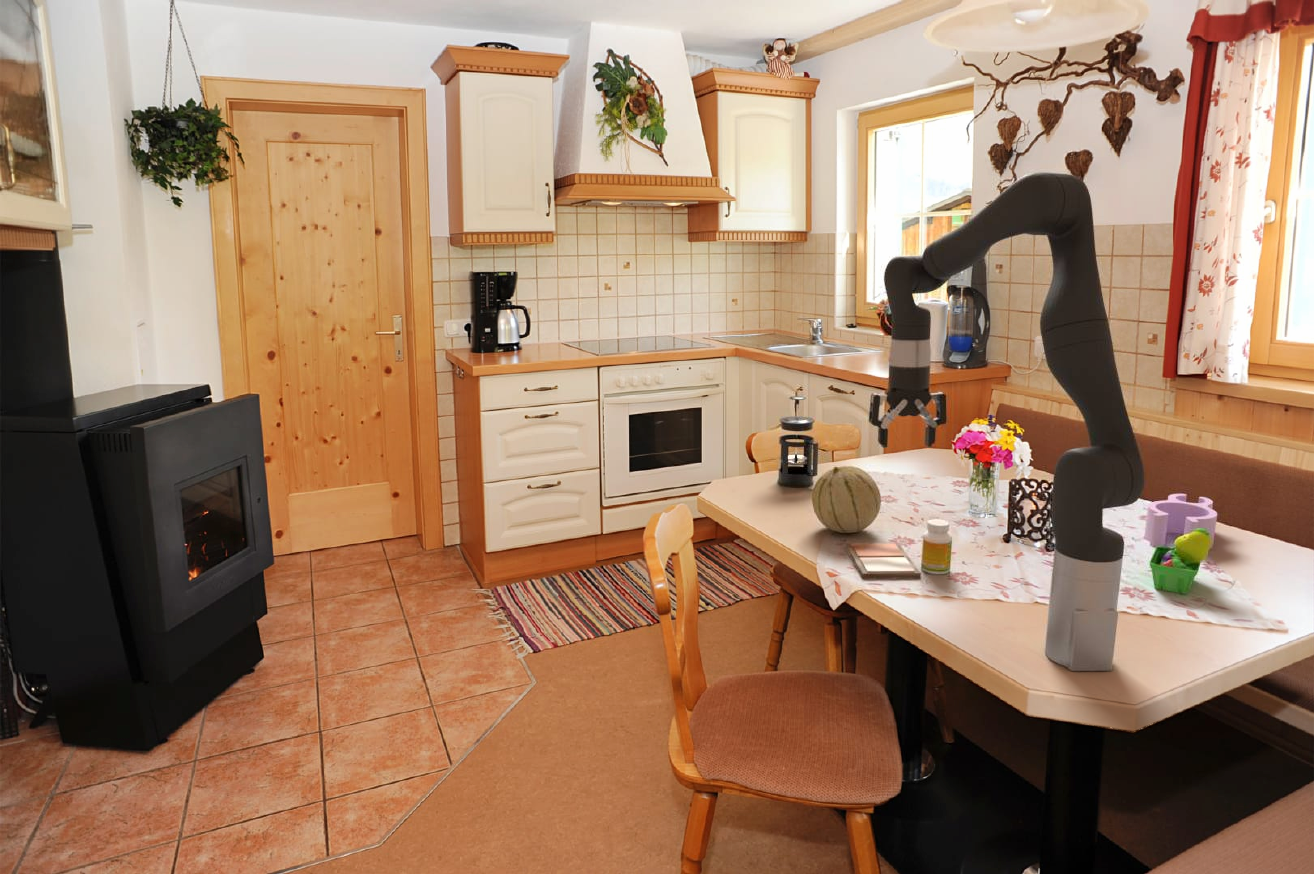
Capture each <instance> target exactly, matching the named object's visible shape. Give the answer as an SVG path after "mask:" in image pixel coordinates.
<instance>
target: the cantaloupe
mask: <svg viewBox="0 0 1314 874" xmlns="http://www.w3.org/2000/svg"><path fill="white" fill-rule="evenodd" d="M811 496H812V497H811V503H812V507H813V512H814V513H815V515H816V518H817V520H819V522H820V523H821V524H822V525H823V526H824V527H825V528H826V529H828V530H830V531H833V532H837V533H841V534H851V533H857V532H861V531H863V530H866V529H867V528H868V527H869V526H871V525H872V524H873V522H874V521H875V520H876V518H877V517H878V514H879V512H880V510H881V507H882V506H881V505H882V504H881V503H882V499H881V498H882V496H881V492H880V488H879V487H878V485H877V482H875V480H874V479H873V477H872V476H871V475H870V474H869V473H868V472H866V471H865V470H863V469H862V468H860V467H858V466H857V467H856V466H852V465H842V466H834V467H833V468H832V469H829V470H826V471H825V472H824V473H822V475H820V476H819V477H818V479H817V480H816V482H815V483H814V486H813V488H812V494H811Z"/></svg>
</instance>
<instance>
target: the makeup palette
mask: <svg viewBox="0 0 1314 874" xmlns="http://www.w3.org/2000/svg"><path fill="white" fill-rule="evenodd" d="M846 549H847V550H846ZM845 550H846V552H847V554H848V553H849V554H848V556H849V557H850V559H851V558H852V559H851V561H852V560H853V561H852V563H853V562H854V563H855V564H854V563H853V564H854V566H855V567H857V568H856V570H857V569H858V570H859V571H858V570H857V571H858V573H859V575H860V577H861V576H862V577H861V578H862V579H921V576H922V573H921V571H920V570H919V568H918V567H917V565H916V564H915V563H914V561H913V560H912V559H911V558H910V557H909V555H908V553H907V552H906V551H905V550H904V548H903V547H902V546H901V544H900V543H895V542H893V543H892V542H887V543H886V542H883V543H881V542H879V543H878V542H876V543H875V542H874V543H870V542H869V543H867V542H866V543H846V544H845Z"/></svg>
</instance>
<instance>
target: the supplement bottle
mask: <svg viewBox="0 0 1314 874" xmlns="http://www.w3.org/2000/svg"><path fill="white" fill-rule="evenodd" d="M926 527H927V530H925V532H923V534H922V543H921V544H922V546H921V547H922V548H921V563H920V566H921V567H920V568H921V569H922V571H924V572H925V573H927V574H931V575H946V574H948V573H950V571H951V562H952V547H953V536H952V534H951V533H950V532H949V530H950V522H948V521H947V520H944V519H939V518H937V519H929V520H928V521H927V525H926Z"/></svg>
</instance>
